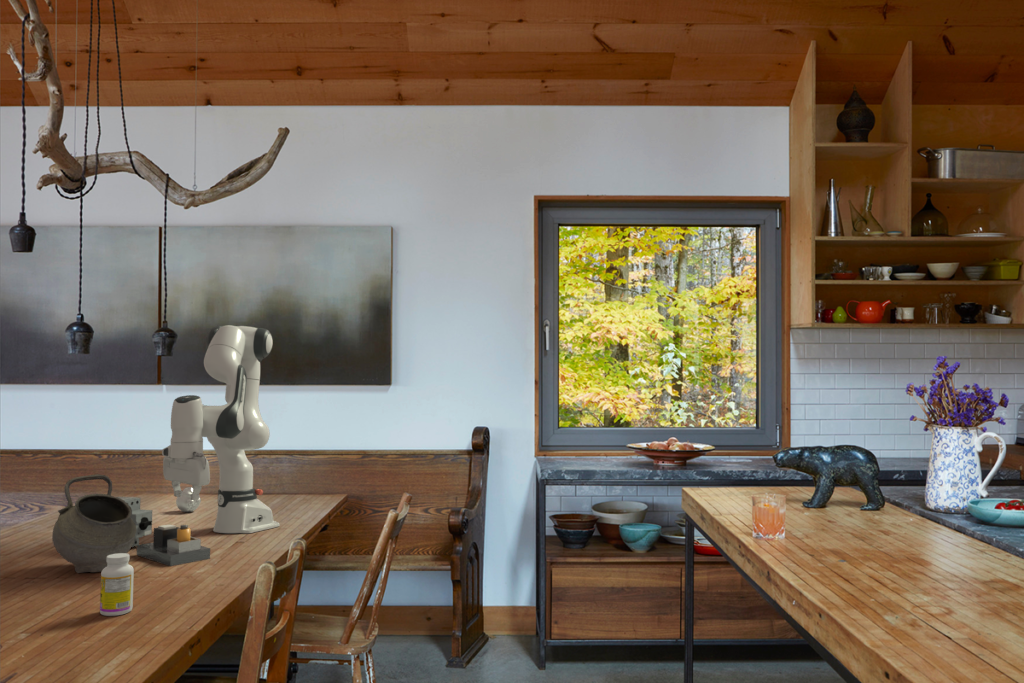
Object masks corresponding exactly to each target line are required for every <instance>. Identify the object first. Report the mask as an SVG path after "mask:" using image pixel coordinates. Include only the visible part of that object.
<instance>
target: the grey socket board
mask: <svg viewBox="0 0 1024 683" xmlns="http://www.w3.org/2000/svg"><path fill="white" fill-rule="evenodd" d="M179 528H180V526H176V528H174V529H167V530H162V529H158V527H154V528H153V538H152V540H153V541H152V542H148V543H141V544H139V545H137V546H136V556H137V555H138V557H140V556H141V558H144V559H147V560H150V561H153V562H156V563H159V564H163V565H165V566H168V567H173V566H179V565H183V564H184V565H185V564H189V563H190V564H191V563H194V562H199V561H205V560H210V559H211V548H210V547H207V546H203V545H202V544H201V542H202V540H201V538H197V537H193V536H191V535H190V541H184V542H178V541H177V529H179Z"/></svg>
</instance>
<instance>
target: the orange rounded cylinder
mask: <svg viewBox="0 0 1024 683" xmlns="http://www.w3.org/2000/svg"><path fill="white" fill-rule="evenodd" d="M191 528H192V527H191ZM191 528H190V527H189V524H181V525H180V526H179V529H177V541H178V542H184V541H190V536H191V535H192V534H191V532H192V531H191Z"/></svg>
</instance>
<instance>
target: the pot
mask: <svg viewBox="0 0 1024 683" xmlns="http://www.w3.org/2000/svg"><path fill="white" fill-rule="evenodd" d="M93 480H102V481H105V482H106V483H107V486H108V489H107V493H91V494H85V495H82V496H81V497H79V498H77V500H75V503H74V502H73V500H72V496H71V492H70V486H71V485H72V484H74V483H79V482H84V481H93ZM112 491H113V481H112V480H111V478H110V477H109V476H107V475H106V474H105V475H104V474H90V475H89V474H88V475H81V476H77V477H73V478H71V479H69V480H67V482H66V483H65V485H64V495H65V499H66V501H67V506H65V507H63V508H62V509H61V508H60V509H58V510H57V512H58V513H59V515H58V518H57V520H56V521H55V524H54V526H53V528H52V538H51V539H52V544H53V546H54V548H55V551H57V553H58V554H59V555H60V557H61V558H63V559H64V560H65V561H67V562H69V563H70V564H72V565H73V566H74V571H75V572H76V573H77V574H80V573H88V572H90V573H98V572H102V570H103V569H104V568H105V567H107V562H106V558H107V556H108V555H111V554H118V553H127V554H128V553H129V552H130V550H131V547H132V545H133V543H134V539H135V533H136V525H135V523H134V522H133V520H132V519H131V518H130V517H131V515H132V509H131V507H130V506H129V505H128V504H127V503H126V502H125V501H124V500H122V499H120V498H118V497H119V496H113V495H112ZM73 503H74V504H73ZM132 548H133V547H132Z"/></svg>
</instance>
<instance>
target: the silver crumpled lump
mask: <svg viewBox="0 0 1024 683" xmlns="http://www.w3.org/2000/svg"><path fill="white" fill-rule="evenodd" d="M192 493H193V489H192V486H188V487H185V488H184V489H183V490H182V496H180V497H176V500H175V501H176V502H175V504H176V507H177V508H178V509H179V510H180V512H184V513H192V512H194V511H196V510H197V509H198V508H199V506H200V504H201V503H202V499H201V495H199V499H198V500H195V501H194V500H191V494H192Z"/></svg>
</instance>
